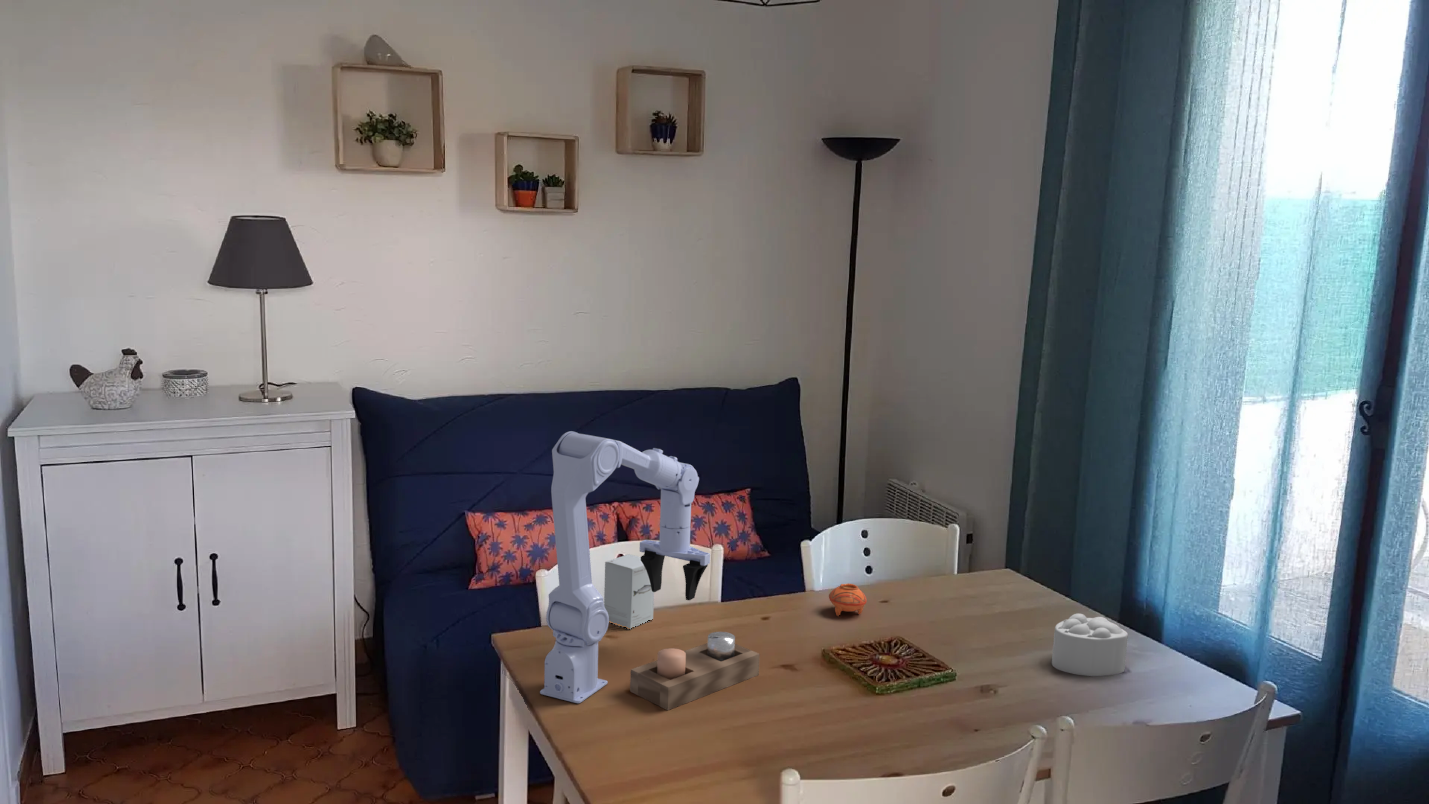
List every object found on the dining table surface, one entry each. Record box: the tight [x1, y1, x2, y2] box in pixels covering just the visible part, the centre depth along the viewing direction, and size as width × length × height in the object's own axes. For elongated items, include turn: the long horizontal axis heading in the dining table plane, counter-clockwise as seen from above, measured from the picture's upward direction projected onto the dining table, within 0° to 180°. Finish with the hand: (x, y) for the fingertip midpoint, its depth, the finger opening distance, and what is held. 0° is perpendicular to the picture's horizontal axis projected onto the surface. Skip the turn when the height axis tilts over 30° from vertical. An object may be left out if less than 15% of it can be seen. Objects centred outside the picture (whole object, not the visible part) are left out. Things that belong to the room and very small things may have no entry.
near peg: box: [656, 647, 686, 680], centre depth 187 cm, size 5×5×4 cm
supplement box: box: [603, 553, 655, 630], centre depth 220 cm, size 7×7×13 cm
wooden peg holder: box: [629, 642, 761, 711], centre depth 192 cm, size 22×10×4 cm, turn 135°
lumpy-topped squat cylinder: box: [1051, 613, 1129, 677], centre depth 206 cm, size 10×13×9 cm
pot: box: [828, 583, 868, 617], centre depth 229 cm, size 8×8×7 cm
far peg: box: [707, 631, 736, 661], centre depth 196 cm, size 5×5×4 cm
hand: (673, 594), depth 207 cm, fingers open, 7 cm apart
